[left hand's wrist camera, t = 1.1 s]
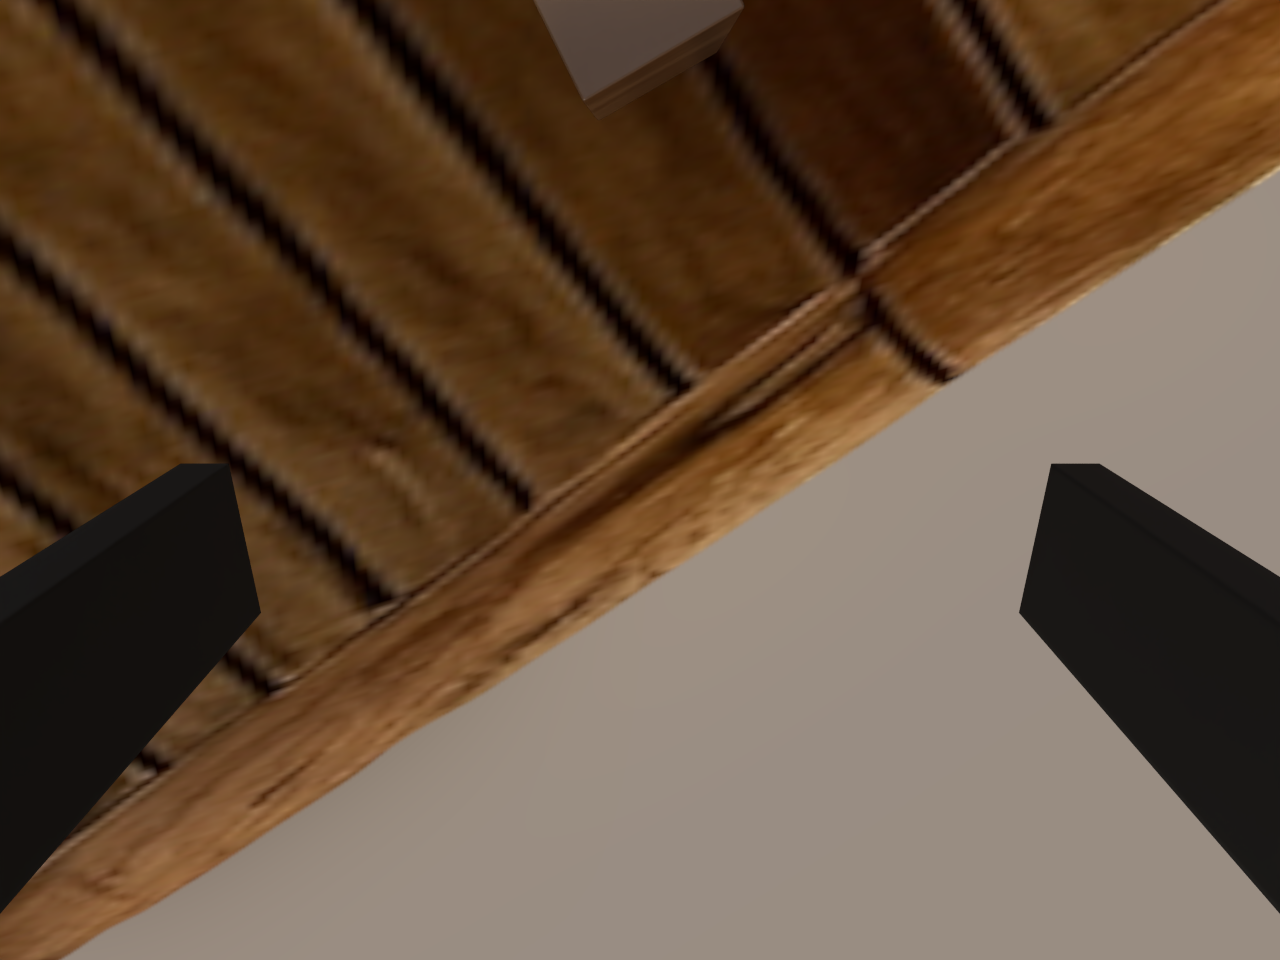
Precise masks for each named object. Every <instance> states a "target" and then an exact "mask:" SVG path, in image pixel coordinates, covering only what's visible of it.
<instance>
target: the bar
mask: <svg viewBox="0 0 1280 960" xmlns="http://www.w3.org/2000/svg"><path fill="white" fill-rule="evenodd" d="M533 1H534V3H535V5H536V7H537V9H538V11H539V13H540V15H541V17H542V19H543V21H544V23H545V26H546V28H547V30H548V32H549V34H550V36H551V38H552V40H553V42H554V44H555V46H556V48H557V50H558V52H559V54H560V56H561V58H562V60H563V62H564V64H565V66H566V68H567V70H568V72H569V74H570V77H571V79H572V81H573V83H574V85H575V87H576V89H577V91H578V93H579V95H580V97H581V99H582V101H583V102H584V103H585V104H586V106H587V107H588V108H589V110H590V111H591V112H592V113H593V115H594V116H595V117H596V119H597V120H601V119H602V118H604V117H606V116H608V115H609V114H611V113H613V112H615V111H616V110H618V109H620V108H622V107H623V106H625V105H627V104H628V103H630V102H632V101H634V100H635V99H637V98H639V97H641V96H642V95H644V94H646V93H647V92H649V91H651V90H653V89H654V88H656V87H658V86H660V85H661V84H663V83H665V82H666V81H668V80H670V79H672V78H673V77H675V76H677V75H679V74H680V73H682V72H684V71H685V70H687V69H689V68H691V67H692V66H694V65H696V64H698V63H699V62H701V61H703V60H705V59H706V58H708V57H710V56H711V55H713V54H715V53H716V52H717V51H718V50H719V48H720V46H721V45H722V43H723V41H724V40H725V38H726V36H727V35H728V33H729V31H730V30H731V28H732V27H733V25H734V23H735V22H736V20H737V18H738V17H739V15H740V13H741V12H742V10H743V8H744V3H743V0H533Z"/></svg>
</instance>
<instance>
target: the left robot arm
mask: <svg viewBox="0 0 1280 960" xmlns="http://www.w3.org/2000/svg"><path fill="white" fill-rule="evenodd" d="M260 613H261V611H260V606H259V602H258V597H257V592H256V588H255V583H254V579H253V574H252V569H251V565H250V560H249V556H248V551H247V546H246V542H245V537H244V532H243V528H242V523H241V519H240V514H239V509H238V505H237V500H236V495H235V491H234V486H233V482H232V477H231V472H230V468H229V464H179V465H178V466H176V467H175V468H173V469H171V470H170V471H168V472H167V473H165V474H163V475H162V476H160V477H159V478H157V479H155V480H154V481H152V482H151V483H149V484H147V485H146V486H144V487H143V488H141V489H140V490H138V491H136V492H135V493H133V494H132V495H130V496H128V497H127V498H125V499H124V500H122V501H120V502H119V503H117V504H116V505H114V506H112V507H111V508H109V509H108V510H106V511H104V512H103V513H101V514H100V515H98V516H97V517H95V518H93V519H92V520H90V521H89V522H87V523H85V524H84V525H82V526H81V527H79V528H77V529H76V530H74V531H73V532H71V533H69V534H68V535H66V536H65V537H63V538H61V539H60V540H58V541H57V542H55V543H54V544H52V545H50V546H49V547H47V548H46V549H44V550H42V551H41V552H39V553H38V554H36V555H34V556H33V557H31V558H30V559H28V560H26V561H25V562H23V563H22V564H20V565H18V566H17V567H15V568H14V569H12V570H10V571H9V572H7V573H6V574H4V575H3V576H1V577H0V913H1V912H2V911H3V910H4V909H5V907H6V906H7V905H8V904H9V903H10V902H11V900H12V899H13V898H14V897H15V896H16V895H17V894H18V892H19V891H20V890H21V889H22V888H23V887H24V885H25V884H26V883H27V882H28V881H29V880H30V879H31V877H32V876H33V875H34V874H35V873H36V872H37V870H38V869H39V868H40V867H41V866H42V865H43V864H44V862H45V861H46V860H47V859H48V858H49V857H50V855H51V854H52V853H53V852H54V851H55V850H56V849H57V847H58V846H59V845H60V844H61V843H62V842H63V840H64V839H65V838H66V837H67V836H68V835H69V834H70V832H71V831H72V830H73V829H74V828H75V827H76V825H77V824H78V823H79V822H80V821H81V820H82V819H83V817H84V816H85V815H86V814H87V813H88V812H89V810H90V809H91V808H92V807H93V806H94V805H95V804H96V802H97V801H98V800H99V799H100V798H101V797H102V795H103V794H104V793H105V792H106V791H107V790H108V789H109V787H110V786H111V785H112V784H113V783H114V782H115V780H116V779H117V778H118V777H119V776H120V775H121V774H122V772H123V771H124V770H125V769H126V768H127V767H128V765H129V764H130V763H131V762H132V761H133V760H134V759H135V757H136V756H137V755H138V754H139V753H140V752H141V750H142V749H143V748H144V747H145V746H146V745H147V744H148V742H149V741H150V740H151V739H152V738H153V737H154V735H155V734H156V733H157V732H158V731H159V730H160V729H161V727H162V726H163V725H164V724H165V723H166V722H167V720H168V719H169V718H170V717H171V716H172V715H173V714H174V712H175V711H176V710H177V709H178V708H179V707H180V705H181V704H182V703H183V702H184V701H185V700H186V699H187V697H188V696H189V695H190V694H191V693H192V692H193V690H194V689H195V688H196V687H197V686H198V685H199V684H200V682H201V681H202V680H203V679H204V678H205V677H206V675H207V674H208V673H209V672H210V671H211V670H212V669H213V667H214V666H215V665H216V664H217V663H218V662H219V660H220V659H221V658H222V657H223V656H224V655H225V654H226V652H227V651H228V650H229V649H230V648H231V647H232V645H233V644H234V643H235V642H236V641H237V640H238V639H239V637H240V636H241V635H242V634H243V633H244V632H245V630H246V629H247V628H248V627H249V626H250V625H251V624H252V622H253V621H254V620H255V619H256V618H257V617H258V615H259V614H260ZM1019 613H1020V614H1021V615H1022V617H1023V618H1024V619H1025V620H1026V621H1027V622H1028V624H1029V625H1030V626H1031V627H1032V628H1033V629H1034V630H1035V632H1036V633H1037V634H1038V635H1039V636H1040V637H1041V639H1042V640H1043V641H1044V642H1045V643H1046V644H1047V645H1048V647H1049V648H1050V649H1051V650H1052V651H1053V652H1054V654H1055V655H1056V656H1057V657H1058V658H1059V659H1060V660H1061V662H1062V663H1063V664H1064V665H1065V666H1066V667H1067V669H1068V670H1069V671H1070V672H1071V673H1072V674H1073V675H1074V677H1075V678H1076V679H1077V680H1078V681H1079V682H1080V684H1081V685H1082V686H1083V687H1084V688H1085V689H1086V690H1087V692H1088V693H1089V694H1090V695H1091V696H1092V697H1093V699H1094V700H1095V701H1096V702H1097V703H1098V704H1099V705H1100V707H1101V708H1102V709H1103V710H1104V711H1105V712H1106V714H1107V715H1108V716H1109V717H1110V718H1111V719H1112V720H1113V722H1114V723H1115V724H1116V725H1117V726H1118V727H1119V729H1120V730H1121V731H1122V732H1123V733H1124V734H1125V735H1126V737H1127V738H1128V739H1129V740H1130V741H1131V742H1132V744H1133V745H1134V746H1135V747H1136V748H1137V749H1138V750H1139V752H1140V753H1141V754H1142V755H1143V756H1144V757H1145V759H1146V760H1147V761H1148V762H1149V763H1150V764H1151V765H1152V767H1153V768H1154V769H1155V770H1156V771H1157V772H1158V774H1159V775H1160V776H1161V777H1162V778H1163V779H1164V780H1165V782H1166V783H1167V784H1168V785H1169V786H1170V787H1171V789H1172V790H1173V791H1174V792H1175V793H1176V794H1177V795H1178V797H1179V798H1180V799H1181V800H1182V801H1183V802H1184V804H1185V805H1186V806H1187V807H1188V808H1189V809H1190V810H1191V812H1192V813H1193V814H1194V815H1195V816H1196V817H1197V819H1198V820H1199V821H1200V822H1201V823H1202V824H1203V825H1204V827H1205V828H1206V829H1207V830H1208V831H1209V832H1210V833H1211V835H1212V836H1213V837H1214V838H1215V839H1216V840H1217V842H1218V843H1219V844H1220V845H1221V846H1222V847H1223V849H1224V850H1225V851H1226V852H1227V853H1228V854H1229V855H1230V857H1231V858H1232V859H1233V860H1234V861H1235V862H1236V864H1237V865H1238V866H1239V867H1240V868H1241V869H1242V870H1243V872H1244V873H1245V874H1246V875H1247V876H1248V877H1249V879H1250V880H1251V881H1252V882H1253V883H1254V884H1255V885H1256V887H1257V888H1258V889H1259V890H1260V891H1261V892H1262V894H1263V895H1264V896H1265V897H1266V898H1267V899H1268V900H1269V902H1270V903H1271V904H1272V905H1273V906H1274V907H1275V908H1276V910H1277V911H1278V912H1279V913H1280V577H1279V576H1277V575H1276V574H1274V573H1273V572H1271V571H1270V570H1268V569H1266V568H1265V567H1263V566H1262V565H1260V564H1258V563H1257V562H1255V561H1254V560H1252V559H1250V558H1249V557H1247V556H1246V555H1244V554H1242V553H1241V552H1239V551H1238V550H1236V549H1234V548H1233V547H1231V546H1230V545H1228V544H1226V543H1225V542H1223V541H1222V540H1220V539H1218V538H1217V537H1215V536H1214V535H1212V534H1211V533H1209V532H1207V531H1206V530H1204V529H1202V528H1201V527H1199V526H1198V525H1196V524H1195V523H1193V522H1191V521H1190V520H1188V519H1187V518H1185V517H1183V516H1182V515H1180V514H1179V513H1177V512H1176V511H1174V510H1172V509H1171V508H1169V507H1168V506H1166V505H1164V504H1163V503H1161V502H1160V501H1158V500H1156V499H1155V498H1153V497H1152V496H1150V495H1148V494H1147V493H1145V492H1144V491H1142V490H1140V489H1139V488H1137V487H1136V486H1134V485H1132V484H1131V483H1129V482H1128V481H1126V480H1125V479H1123V478H1121V477H1120V476H1118V475H1116V474H1115V473H1113V472H1112V471H1110V470H1109V469H1107V468H1105V467H1104V466H1102V465H1101V464H1051V468H1050V472H1049V477H1048V482H1047V486H1046V491H1045V496H1044V500H1043V505H1042V509H1041V514H1040V519H1039V523H1038V528H1037V533H1036V537H1035V542H1034V546H1033V551H1032V556H1031V560H1030V565H1029V569H1028V574H1027V579H1026V583H1025V588H1024V592H1023V597H1022V602H1021V606H1020V611H1019Z"/></svg>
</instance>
